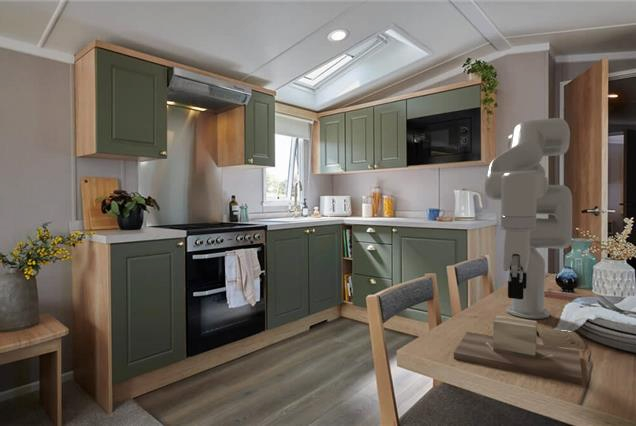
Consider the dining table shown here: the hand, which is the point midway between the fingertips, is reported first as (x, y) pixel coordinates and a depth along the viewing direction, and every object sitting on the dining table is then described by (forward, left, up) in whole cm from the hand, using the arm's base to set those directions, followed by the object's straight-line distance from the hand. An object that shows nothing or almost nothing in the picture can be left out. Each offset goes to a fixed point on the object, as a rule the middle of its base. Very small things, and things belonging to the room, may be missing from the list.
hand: (517, 292), depth 94 cm
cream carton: (+1, 0, -14) cm, 14 cm away
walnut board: (+1, 0, -16) cm, 16 cm away
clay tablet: (-18, +8, -17) cm, 26 cm away
